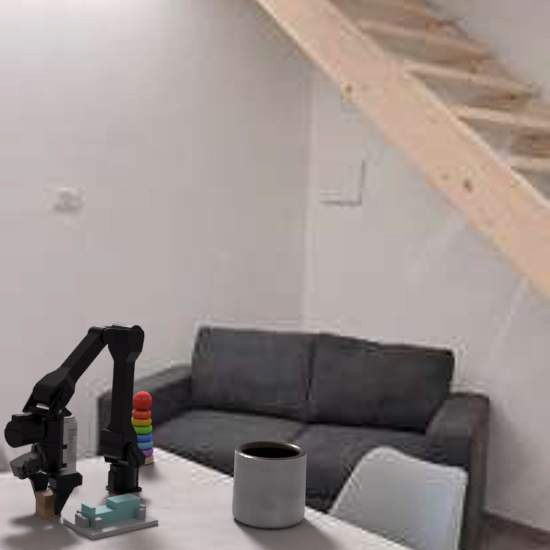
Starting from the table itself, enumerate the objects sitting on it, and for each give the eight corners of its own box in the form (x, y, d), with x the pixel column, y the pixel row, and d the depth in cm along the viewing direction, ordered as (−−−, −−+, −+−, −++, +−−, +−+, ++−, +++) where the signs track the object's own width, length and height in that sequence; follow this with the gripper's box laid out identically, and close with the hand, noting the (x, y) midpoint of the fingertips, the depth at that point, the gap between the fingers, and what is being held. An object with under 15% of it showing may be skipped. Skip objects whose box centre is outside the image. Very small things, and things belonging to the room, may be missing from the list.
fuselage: (129, 511, 208) (129, 493, 208) (139, 516, 205) (140, 498, 205) (80, 521, 200) (81, 503, 200) (90, 527, 197) (91, 508, 197)
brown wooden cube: (52, 510, 210) (52, 488, 209) (61, 515, 207) (61, 493, 206) (35, 514, 207) (35, 491, 207) (44, 519, 204) (44, 496, 204)
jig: (127, 509, 213) (127, 495, 212) (158, 524, 204) (158, 510, 203) (63, 522, 202) (63, 509, 202) (92, 539, 193) (92, 525, 193)
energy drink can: (58, 470, 240) (60, 411, 238) (80, 473, 238) (81, 414, 237) (46, 476, 234) (48, 416, 233) (68, 479, 232) (70, 419, 231)
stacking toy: (129, 467, 245) (131, 395, 244) (119, 459, 252) (121, 389, 251) (158, 464, 249) (160, 393, 247) (147, 456, 256) (149, 387, 254)
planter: (292, 535, 200) (296, 463, 199) (221, 525, 205) (224, 453, 204) (312, 512, 216) (315, 445, 214) (245, 503, 220) (248, 437, 219)
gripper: (-5, 434, 207) (-6, 504, 208) (36, 454, 193) (34, 529, 194) (42, 428, 214) (40, 496, 216) (84, 446, 201) (82, 519, 202)
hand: (48, 509), depth 207 cm, fingers open, 8 cm apart
